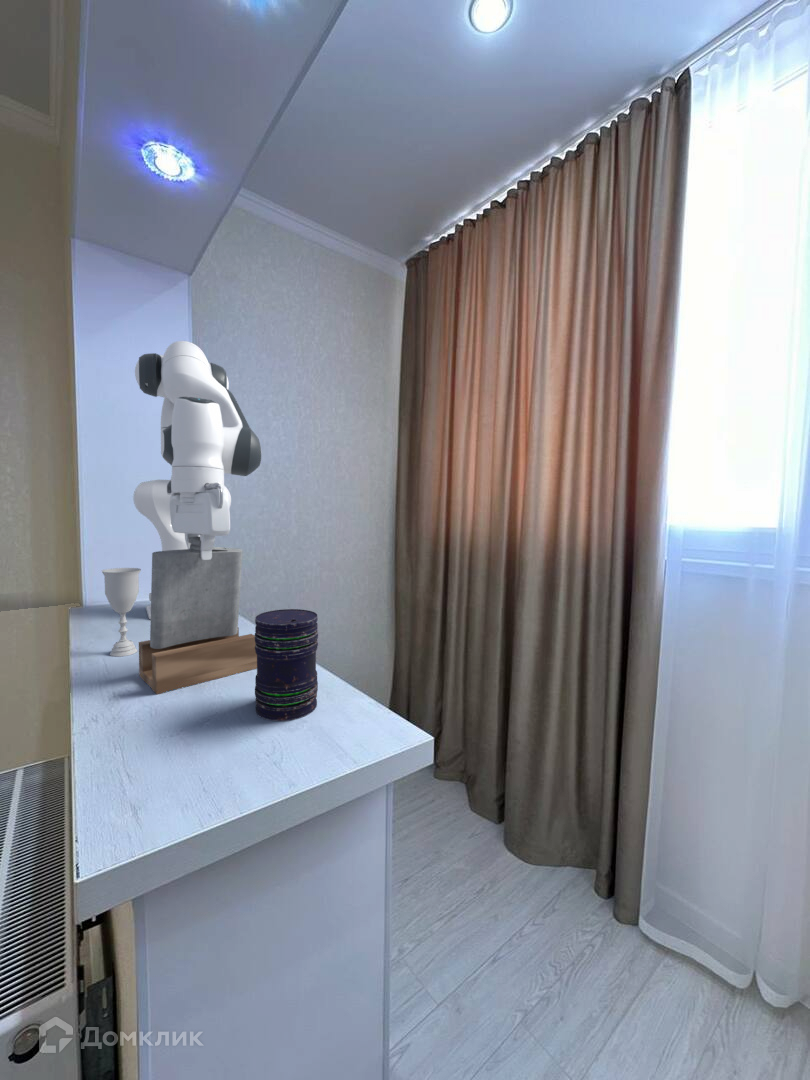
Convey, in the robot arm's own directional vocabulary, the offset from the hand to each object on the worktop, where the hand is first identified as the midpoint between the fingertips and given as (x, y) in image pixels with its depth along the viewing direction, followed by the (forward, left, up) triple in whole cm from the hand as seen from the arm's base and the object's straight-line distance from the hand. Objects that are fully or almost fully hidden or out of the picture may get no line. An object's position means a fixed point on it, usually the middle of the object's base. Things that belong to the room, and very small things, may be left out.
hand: (199, 558), depth 82 cm
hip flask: (-3, 0, -16) cm, 16 cm away
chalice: (-23, -8, -22) cm, 33 cm away
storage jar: (+23, +5, -23) cm, 33 cm away
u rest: (-1, 0, -22) cm, 22 cm away
